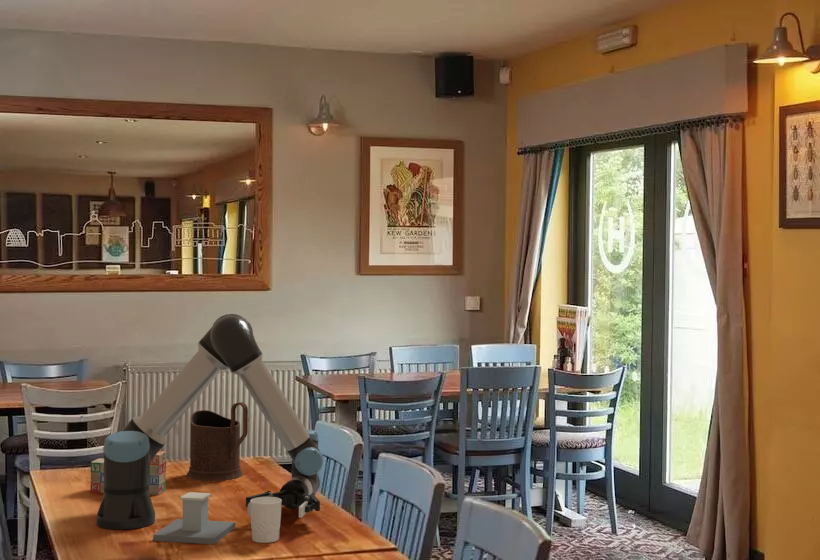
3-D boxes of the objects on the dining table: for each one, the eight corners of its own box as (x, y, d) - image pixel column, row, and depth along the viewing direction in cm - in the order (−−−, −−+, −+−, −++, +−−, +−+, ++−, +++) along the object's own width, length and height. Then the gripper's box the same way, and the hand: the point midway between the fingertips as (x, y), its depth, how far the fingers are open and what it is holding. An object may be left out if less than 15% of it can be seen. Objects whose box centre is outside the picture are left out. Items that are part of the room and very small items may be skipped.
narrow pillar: (153, 540, 258) (153, 500, 258) (177, 524, 274) (177, 486, 273) (214, 544, 255) (214, 504, 255) (235, 527, 271) (235, 489, 271)
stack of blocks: (89, 493, 309) (90, 452, 308) (98, 488, 315) (98, 448, 314) (159, 495, 306) (159, 454, 306) (166, 490, 313) (166, 450, 312)
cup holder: (218, 467, 348) (219, 393, 347) (267, 477, 333) (268, 400, 332) (173, 475, 334) (174, 398, 333) (222, 487, 318) (223, 406, 318)
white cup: (265, 545, 255) (265, 505, 255) (243, 540, 260) (243, 500, 259) (287, 539, 261) (288, 499, 261) (265, 533, 266) (266, 495, 266)
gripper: (339, 508, 285) (321, 528, 264) (252, 503, 289) (227, 523, 268) (339, 481, 285) (321, 499, 264) (252, 477, 288) (228, 494, 267)
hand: (274, 511), depth 266 cm, fingers open, 13 cm apart
